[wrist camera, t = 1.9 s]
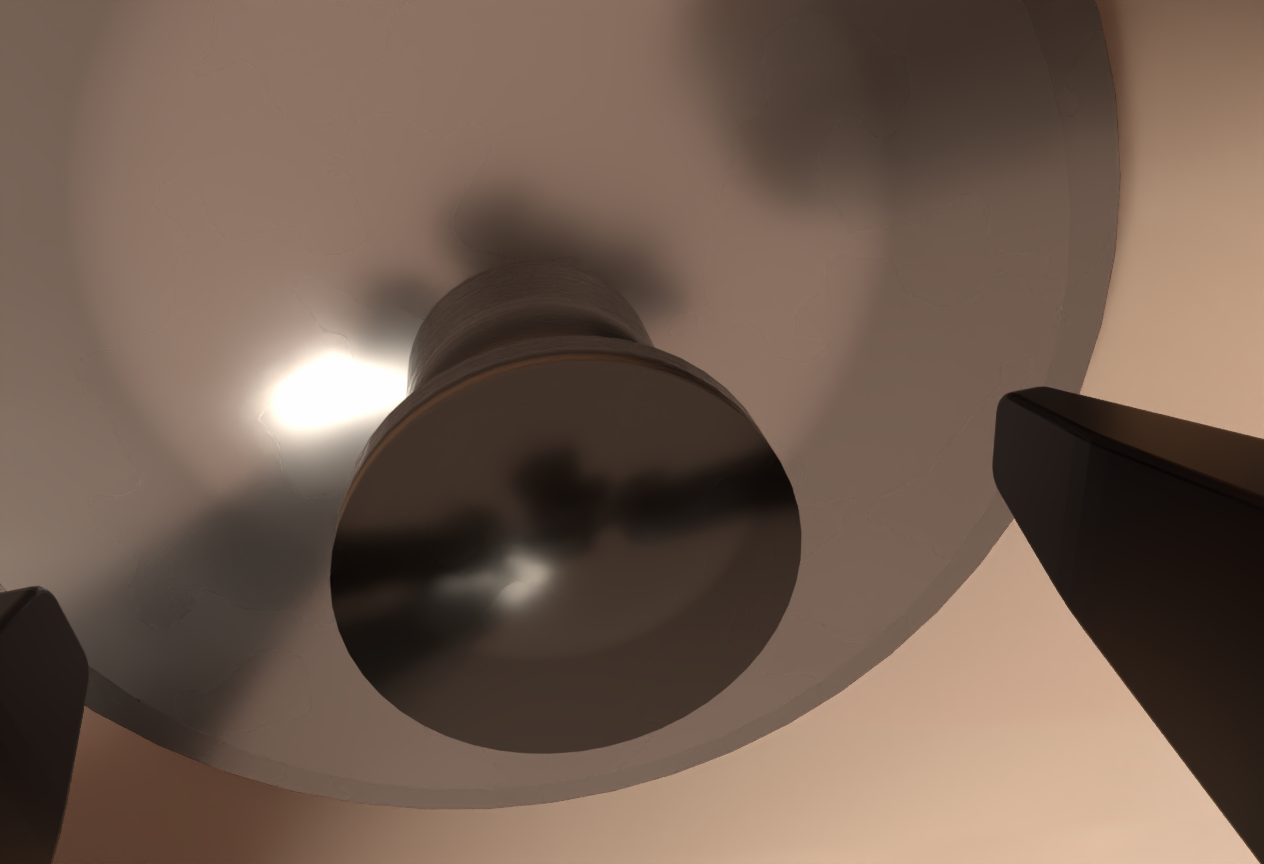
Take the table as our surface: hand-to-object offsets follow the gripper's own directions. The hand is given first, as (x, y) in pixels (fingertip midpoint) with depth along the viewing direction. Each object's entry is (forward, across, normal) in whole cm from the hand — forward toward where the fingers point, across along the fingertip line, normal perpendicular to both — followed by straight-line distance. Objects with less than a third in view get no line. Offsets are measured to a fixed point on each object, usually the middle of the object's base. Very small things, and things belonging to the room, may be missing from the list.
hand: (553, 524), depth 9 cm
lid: (+4, 0, 0) cm, 4 cm away
